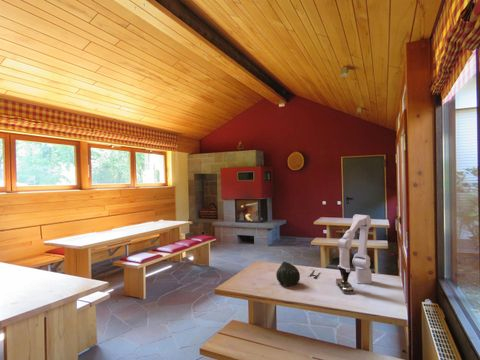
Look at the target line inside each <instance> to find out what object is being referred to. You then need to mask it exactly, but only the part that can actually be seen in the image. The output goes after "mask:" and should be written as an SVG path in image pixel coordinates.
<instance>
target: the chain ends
mask: <svg viewBox="0 0 480 360" xmlns="http://www.w3.org/2000/svg"><path fill="white" fill-rule="evenodd" d="M335 285H336V286H337V287H338V289H339V290H340V291H341V292H342V294H343V295H355V288H354V287H352V286H353V285H352V284H351V283H350V282H349V280H348V281H347V284H343V282H342V278H335Z"/></svg>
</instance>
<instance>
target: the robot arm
mask: <svg viewBox="0 0 480 360" xmlns="http://www.w3.org/2000/svg"><path fill="white" fill-rule="evenodd" d="M371 225H372V218H371V216H370V215H369V214H358V213H357V214H356V213H355V214H354V215H353V216H352V224H351V225H350V228H349V229H346V231H345V233H344V234H343V236H342V237H341V238H339V239H338V241H337V247H338V251H339V264H338V265H337V268H338V270H339V272H340V276H341V278H342V275H343V280H344V281H348V282H349V276H350V274H351V271H352V270H351V268H350V267H351V266H350V249H351V248H352V243H353V240H354V238H355V236H356V234H355V233H356V232H357V231H358V230H359V229H360V230H359V239H358V247H357V252H356V253H355V254H353V258H352V265H353V267H354V268H355V278H353V281H354V282H355V283H356V284H373V280H372V278H373V277H372V275H373V273H372V269H371V268H370V266H371V257H370V255H368V254H367V247H368V238H369V236H368V235H369V229H371ZM358 228H359V229H358Z"/></svg>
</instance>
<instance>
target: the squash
mask: <svg viewBox="0 0 480 360" xmlns="http://www.w3.org/2000/svg"><path fill="white" fill-rule="evenodd" d="M300 274H301V273H300V271H299V269H298V268H297V267H296V266H295V265H293V264H291V263H290V262H287V261H283V262H282V263H281V264H280V266H279V267H278V268H277V271H276V273H275V276H276V280H277V281H278V282H279V284H281V286H285V287H289V286H293V285H297V284H298V283H299V281H300V279H301V275H300Z"/></svg>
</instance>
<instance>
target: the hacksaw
mask: <svg viewBox="0 0 480 360" xmlns="http://www.w3.org/2000/svg"><path fill="white" fill-rule="evenodd" d="M310 270H311V273H310V274H309V277H312V278H313V279H315V280H317V278H318V277H319V276H320V275H321V273H322V272H319V271H320V270H318V269H317V270H316V269H314V270H313V268H311V269H310ZM315 271H318V274H317V275H315V274H314V273H315Z"/></svg>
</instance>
